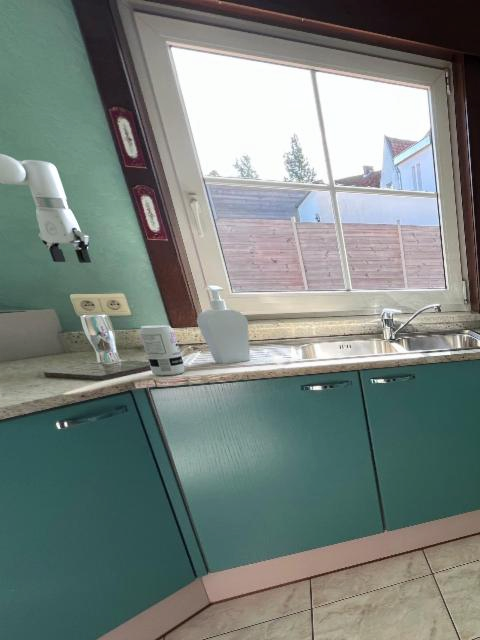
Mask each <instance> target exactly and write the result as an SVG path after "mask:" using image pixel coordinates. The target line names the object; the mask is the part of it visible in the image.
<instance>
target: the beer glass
mask: <svg viewBox="0 0 480 640" xmlns="http://www.w3.org/2000/svg"><path fill="white" fill-rule="evenodd" d="M79 318H80V322H81V324H82V329H83V332H84V333H85V336H86V337H87V339H88V341H89V343H90V345H91V346H92V348H93V350H94V352H95V356H96V362H98V363H114V362H119V361H122V360H123V359H122V357H121V355H120V354H119V350H118V349H117V341H116V333H115V329H114V326H113V323H112V321H111V319H110V316H109V315H108V314H104V313H103V314H84V315H80V316H79Z"/></svg>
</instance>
